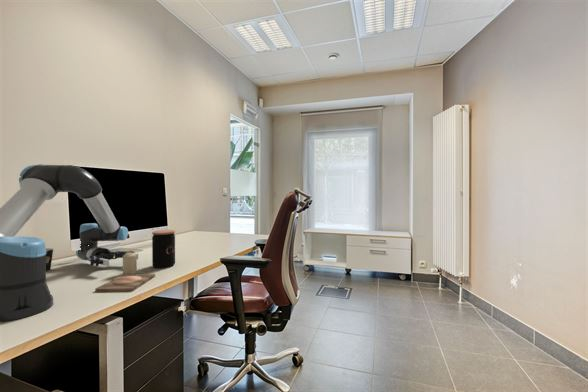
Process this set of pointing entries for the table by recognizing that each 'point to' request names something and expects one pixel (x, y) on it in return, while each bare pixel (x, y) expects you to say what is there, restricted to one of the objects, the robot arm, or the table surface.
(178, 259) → the table surface
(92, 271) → the table surface
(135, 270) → the candle
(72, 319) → the table surface
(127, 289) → the candle board
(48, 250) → the coffee mug
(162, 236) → the coffee jar
